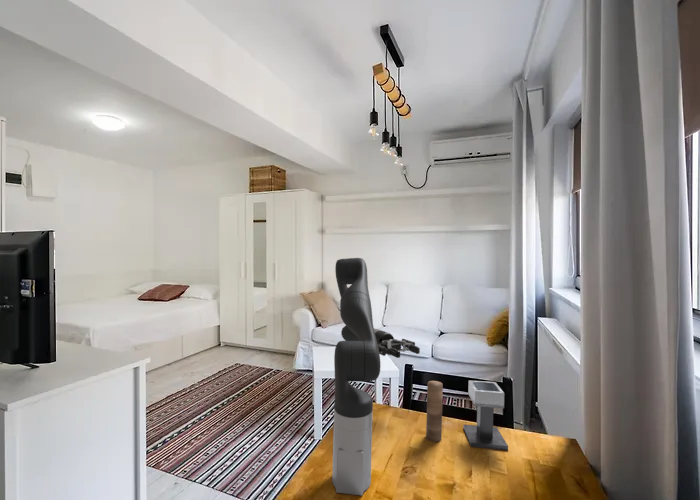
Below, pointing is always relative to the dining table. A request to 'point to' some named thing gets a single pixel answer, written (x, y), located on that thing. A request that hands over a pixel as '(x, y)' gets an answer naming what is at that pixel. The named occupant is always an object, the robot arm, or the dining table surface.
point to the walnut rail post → (434, 411)
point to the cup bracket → (485, 415)
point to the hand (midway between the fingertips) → (409, 352)
